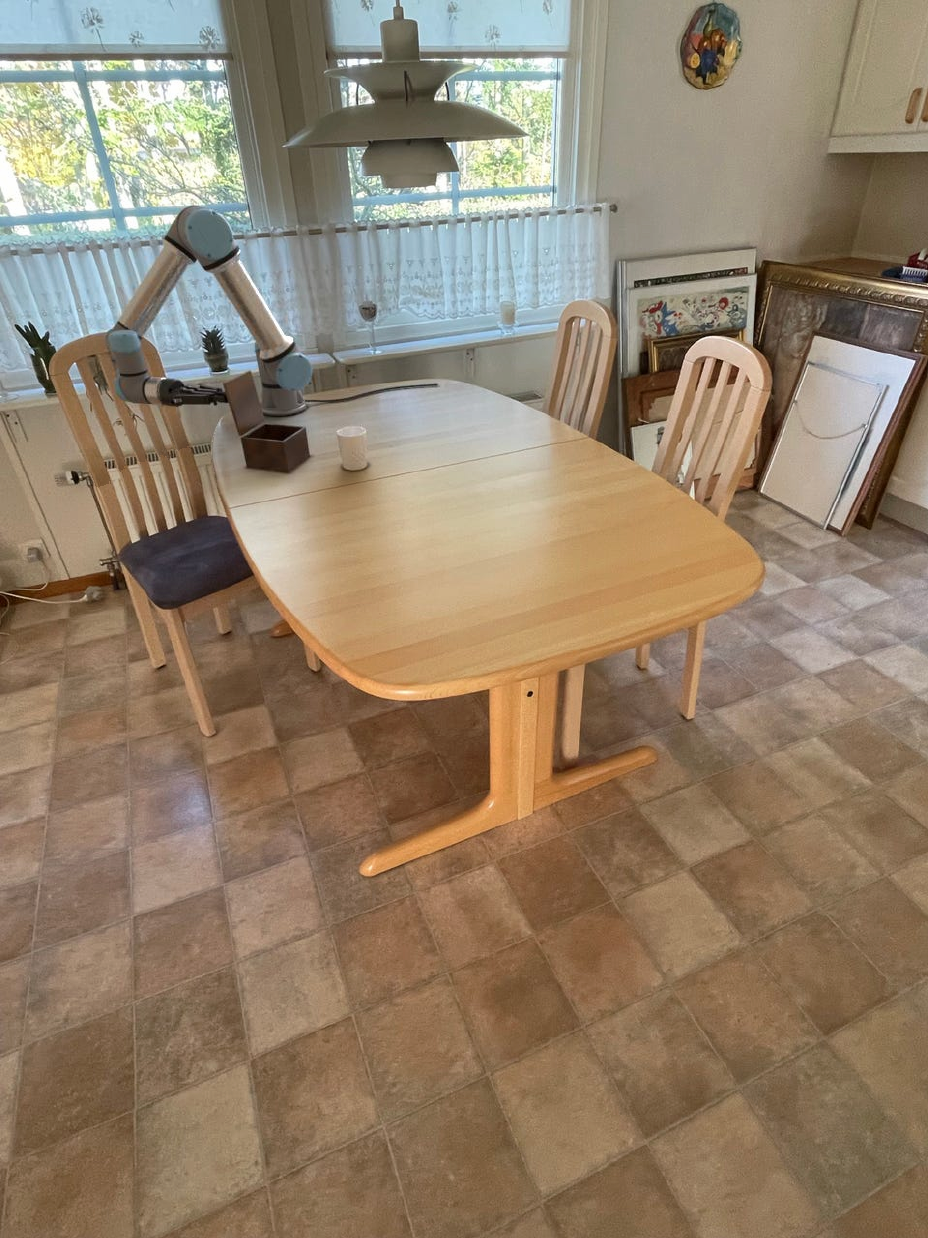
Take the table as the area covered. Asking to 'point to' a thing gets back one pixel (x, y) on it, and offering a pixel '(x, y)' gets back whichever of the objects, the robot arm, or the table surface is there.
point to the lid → (244, 402)
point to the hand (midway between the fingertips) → (238, 398)
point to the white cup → (353, 447)
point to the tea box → (275, 447)
